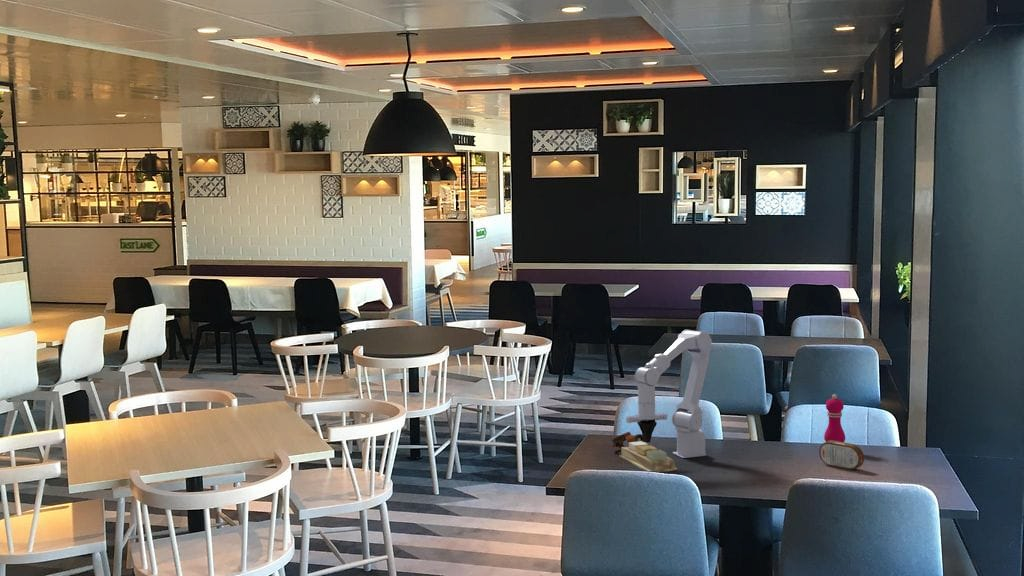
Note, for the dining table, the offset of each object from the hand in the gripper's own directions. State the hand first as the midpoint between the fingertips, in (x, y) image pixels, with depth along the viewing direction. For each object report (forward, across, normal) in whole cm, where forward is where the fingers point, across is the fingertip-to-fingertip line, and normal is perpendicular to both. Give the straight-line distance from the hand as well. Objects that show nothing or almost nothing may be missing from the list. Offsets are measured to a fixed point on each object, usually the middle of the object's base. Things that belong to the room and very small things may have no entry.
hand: (647, 442), depth 341 cm
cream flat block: (+4, 0, 0) cm, 4 cm away
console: (+7, 0, 0) cm, 7 cm away
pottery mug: (+8, +2, +18) cm, 20 cm away
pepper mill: (+8, +69, -9) cm, 70 cm away
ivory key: (+4, 0, +7) cm, 8 cm away
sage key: (+4, 0, -7) cm, 8 cm away
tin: (+8, +56, -30) cm, 64 cm away
